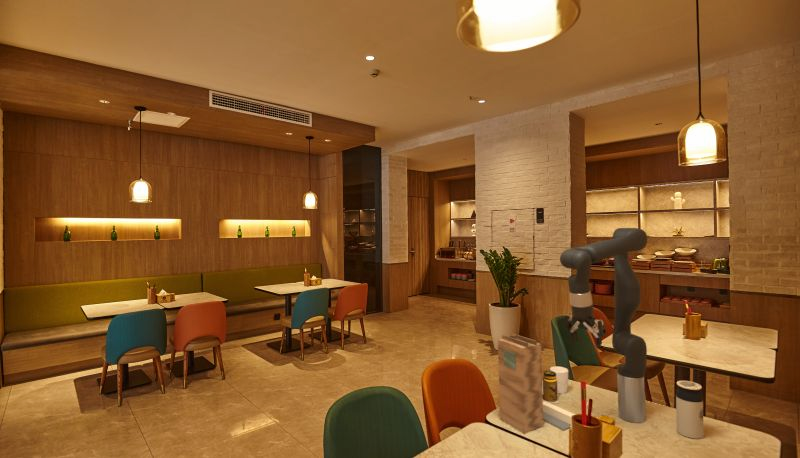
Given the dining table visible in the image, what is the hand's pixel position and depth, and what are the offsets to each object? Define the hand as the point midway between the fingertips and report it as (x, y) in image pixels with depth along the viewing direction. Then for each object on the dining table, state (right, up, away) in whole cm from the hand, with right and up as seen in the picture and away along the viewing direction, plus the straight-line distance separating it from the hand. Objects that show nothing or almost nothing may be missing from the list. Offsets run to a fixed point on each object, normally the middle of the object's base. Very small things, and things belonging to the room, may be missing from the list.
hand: (587, 343), depth 149 cm
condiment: (-4, -33, +28) cm, 43 cm away
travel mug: (+36, -32, -4) cm, 48 cm away
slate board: (-8, -33, +12) cm, 36 cm away
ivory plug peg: (-6, -32, +9) cm, 34 cm away
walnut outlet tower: (-22, -33, +7) cm, 41 cm away
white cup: (+4, -33, +36) cm, 49 cm away
